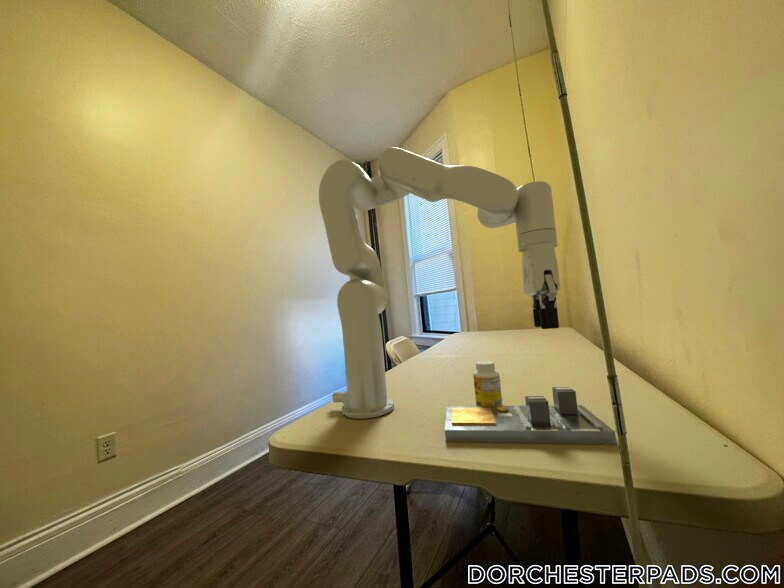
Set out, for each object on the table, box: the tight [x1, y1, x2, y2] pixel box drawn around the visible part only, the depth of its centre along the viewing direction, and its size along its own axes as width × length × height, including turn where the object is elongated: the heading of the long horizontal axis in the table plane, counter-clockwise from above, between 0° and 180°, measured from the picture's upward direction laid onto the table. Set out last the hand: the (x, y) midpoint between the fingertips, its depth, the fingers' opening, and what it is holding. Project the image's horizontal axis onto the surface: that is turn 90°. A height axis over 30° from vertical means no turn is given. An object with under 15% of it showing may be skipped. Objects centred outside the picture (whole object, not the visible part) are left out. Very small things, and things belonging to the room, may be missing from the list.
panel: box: [444, 395, 617, 446], centre depth 53 cm, size 26×12×6 cm, turn 77°
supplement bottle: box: [472, 360, 503, 406], centre depth 64 cm, size 6×6×10 cm
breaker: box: [551, 386, 578, 414], centre depth 54 cm, size 3×3×4 cm
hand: (546, 326), depth 61 cm, fingers open, 4 cm apart
